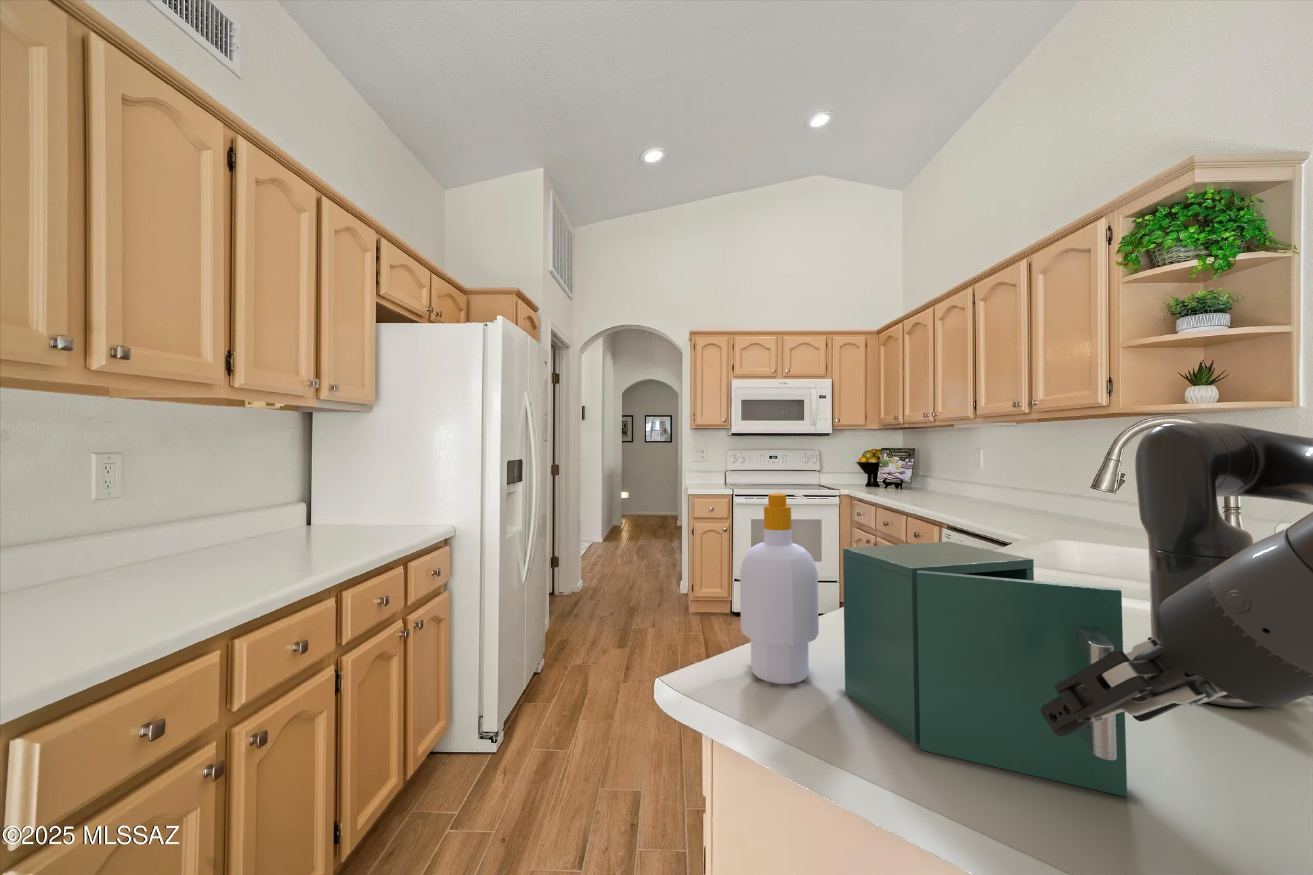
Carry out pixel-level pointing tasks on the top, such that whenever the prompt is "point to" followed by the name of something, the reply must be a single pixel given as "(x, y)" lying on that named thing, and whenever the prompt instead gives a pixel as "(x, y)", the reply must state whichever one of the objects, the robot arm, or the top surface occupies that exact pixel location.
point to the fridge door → (1016, 674)
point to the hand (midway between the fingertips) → (1091, 715)
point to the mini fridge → (900, 619)
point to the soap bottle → (779, 599)
